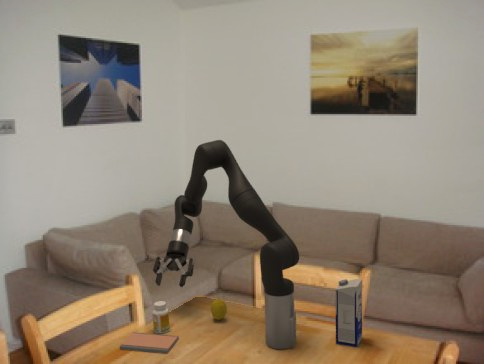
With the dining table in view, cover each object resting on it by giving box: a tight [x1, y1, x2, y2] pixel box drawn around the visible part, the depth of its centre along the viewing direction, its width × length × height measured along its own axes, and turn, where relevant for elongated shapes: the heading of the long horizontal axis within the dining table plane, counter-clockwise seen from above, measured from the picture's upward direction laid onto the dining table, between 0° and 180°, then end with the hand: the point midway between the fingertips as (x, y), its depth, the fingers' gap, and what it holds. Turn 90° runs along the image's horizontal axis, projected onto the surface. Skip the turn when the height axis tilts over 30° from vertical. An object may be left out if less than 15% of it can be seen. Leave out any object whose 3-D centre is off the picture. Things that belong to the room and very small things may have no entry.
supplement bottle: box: [151, 300, 171, 335], centre depth 186 cm, size 5×5×10 cm
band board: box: [119, 332, 180, 354], centre depth 177 cm, size 16×10×1 cm, turn 76°
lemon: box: [210, 298, 228, 321], centre depth 192 cm, size 6×6×8 cm
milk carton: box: [334, 278, 363, 348], centre depth 172 cm, size 7×7×20 cm
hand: (169, 285), depth 193 cm, fingers open, 8 cm apart
